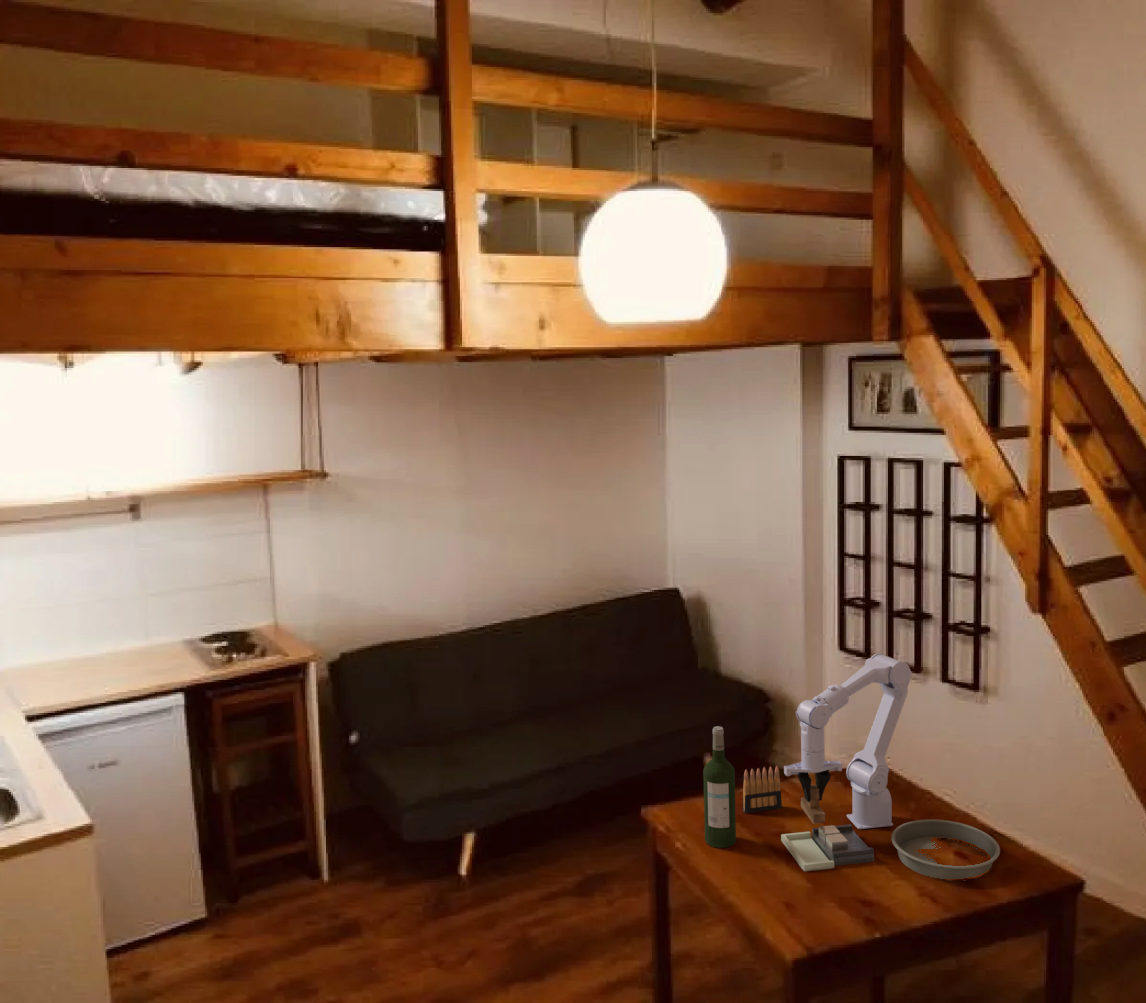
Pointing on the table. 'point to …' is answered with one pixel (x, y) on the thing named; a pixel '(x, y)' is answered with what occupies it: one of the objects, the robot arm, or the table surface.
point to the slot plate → (856, 847)
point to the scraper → (813, 806)
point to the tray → (806, 851)
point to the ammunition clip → (761, 791)
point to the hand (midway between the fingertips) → (813, 799)
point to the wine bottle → (719, 796)
